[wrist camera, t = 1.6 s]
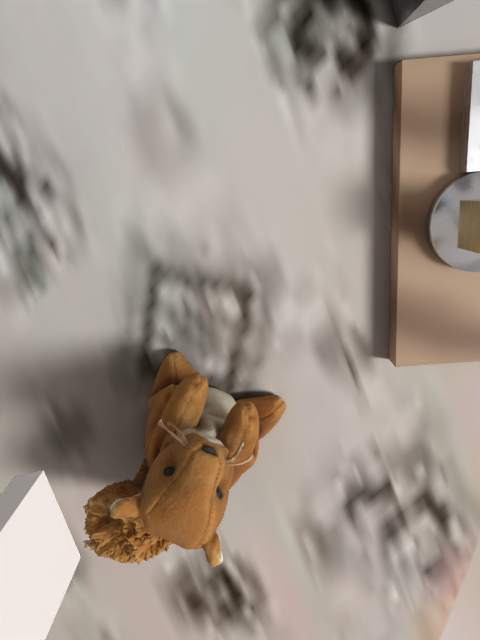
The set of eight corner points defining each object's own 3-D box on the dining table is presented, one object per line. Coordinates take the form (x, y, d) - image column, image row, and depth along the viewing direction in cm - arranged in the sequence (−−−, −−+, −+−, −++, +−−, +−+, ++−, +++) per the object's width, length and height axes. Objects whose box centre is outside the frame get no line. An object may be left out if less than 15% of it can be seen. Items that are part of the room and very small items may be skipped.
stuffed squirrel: (293, 393, 35) (324, 508, 22) (200, 520, 38) (180, 684, 25) (183, 327, 33) (149, 410, 21) (96, 465, 37) (20, 610, 24)
